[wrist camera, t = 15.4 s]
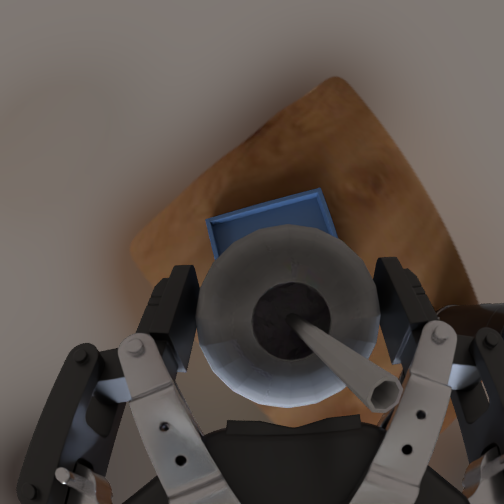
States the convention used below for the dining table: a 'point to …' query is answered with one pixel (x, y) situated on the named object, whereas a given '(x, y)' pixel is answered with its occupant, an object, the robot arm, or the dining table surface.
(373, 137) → the dining table surface
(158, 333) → the robot arm
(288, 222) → the tray
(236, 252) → the beverage cup
